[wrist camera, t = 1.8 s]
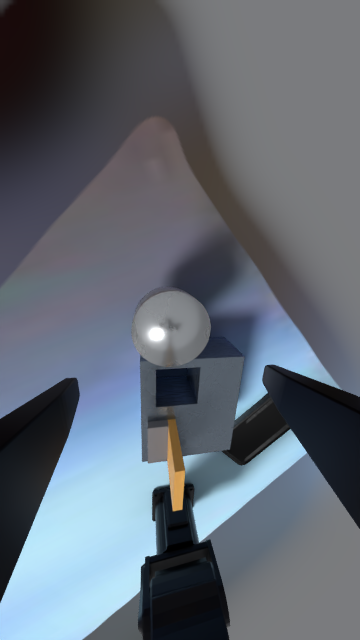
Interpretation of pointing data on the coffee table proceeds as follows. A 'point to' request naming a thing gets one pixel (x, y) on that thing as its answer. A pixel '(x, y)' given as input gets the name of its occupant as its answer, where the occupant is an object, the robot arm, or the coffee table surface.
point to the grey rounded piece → (170, 327)
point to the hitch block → (195, 398)
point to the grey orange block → (168, 456)
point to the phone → (256, 431)
